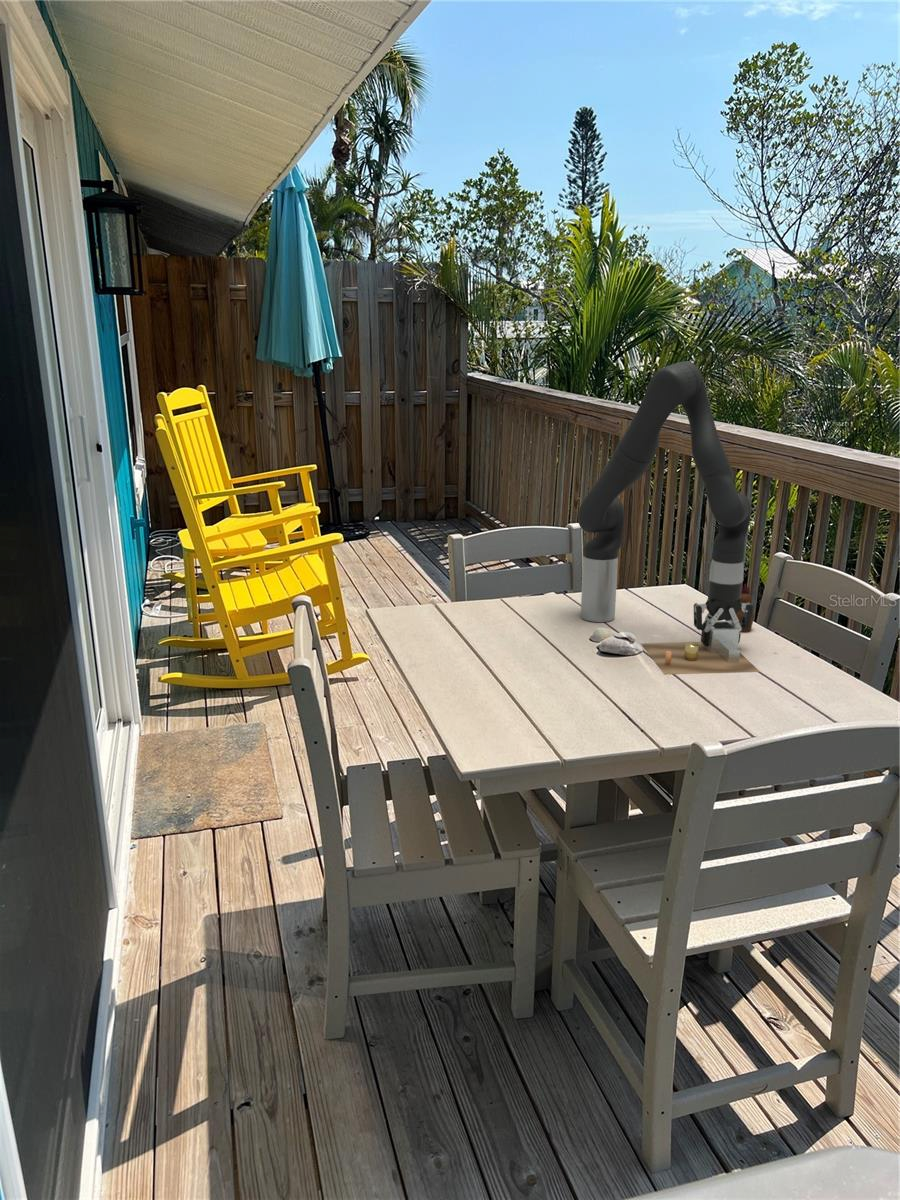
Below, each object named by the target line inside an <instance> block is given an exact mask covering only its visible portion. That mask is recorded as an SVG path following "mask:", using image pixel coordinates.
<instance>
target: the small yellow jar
mask: <svg viewBox="0 0 900 1200" xmlns="http://www.w3.org/2000/svg"><path fill="white" fill-rule="evenodd" d="M689 642H690V643H686V644H685V655H684V659H685V660H688V661H696V660H697V659H698V647H699V645H698V644H697V643H691V642H692V641H689Z"/></svg>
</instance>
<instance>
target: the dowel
mask: <svg viewBox="0 0 900 1200" xmlns="http://www.w3.org/2000/svg"><path fill="white" fill-rule="evenodd" d="M671 653H672V652H671V651H666V661H665V664H666V665H671Z"/></svg>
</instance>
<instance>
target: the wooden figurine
mask: <svg viewBox="0 0 900 1200" xmlns="http://www.w3.org/2000/svg"><path fill="white" fill-rule="evenodd" d="M740 601H741V603H746V602H749V603H750V604H751V605H752V601H753V600H752V595H751V594H750V587H749V586H747V583H744V582H742V592H741V599H740ZM742 614H743V611H742V608H741V609H740V610H739V611H738V612H737V614H736V616H737V618H738V620H739V623H741V619H742ZM754 617H755V613H754V611H753V612H752V616H751V621H750V626H749V628H748V629H743V630H741V633H749V632H750V631H751V630H752V626H753V623H754ZM725 621H730V620H725Z"/></svg>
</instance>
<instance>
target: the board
mask: <svg viewBox="0 0 900 1200" xmlns="http://www.w3.org/2000/svg"><path fill="white" fill-rule="evenodd" d="M690 642H691V643H697V644H698V645H699V647H698V659H697V660H696V661H688V660H685V659H684V655H685V644H686V643H690ZM640 646H641V647H642V648H643V649H644V650H645V652H646V653H647V654H648V655H649V657H650V658H651V660H652V661H653V662H654V663H655V664H656V666H657V668H658V669H660V671H661V672H662V673H663V675H664V676H665V675H693V674H694V675H695V674H702V675H703V674H729V673H731V674H732V673H734V674H735V673H761V671H760V670H759V669H758V668H757V667H756V666H755V665H754V664H753V663H751V662H750V660H749V659H747V658H746V657H745V655H743V654H742V653H741V652H740V655H739V663H728V662H727V661H726V660H725V659H724V658H723V657H722V656H721V655H720V654H711V653H710V652H709V651H708V650H707V649H706V648H705V647H704V646H703V645H702V642H701V641H689V642H687V641H686V642H685V641H684V642H682V641H681V642H649V643H647V642H646V643H642V642H641V643H640ZM666 651H671V652H672V653H671V665H666V664H665V661H666Z"/></svg>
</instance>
